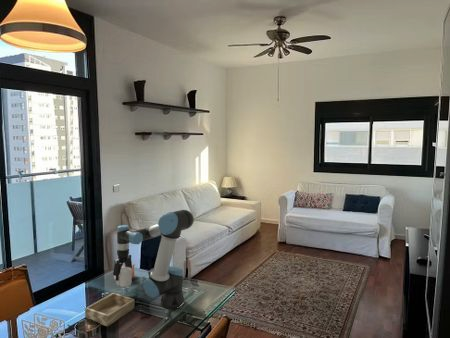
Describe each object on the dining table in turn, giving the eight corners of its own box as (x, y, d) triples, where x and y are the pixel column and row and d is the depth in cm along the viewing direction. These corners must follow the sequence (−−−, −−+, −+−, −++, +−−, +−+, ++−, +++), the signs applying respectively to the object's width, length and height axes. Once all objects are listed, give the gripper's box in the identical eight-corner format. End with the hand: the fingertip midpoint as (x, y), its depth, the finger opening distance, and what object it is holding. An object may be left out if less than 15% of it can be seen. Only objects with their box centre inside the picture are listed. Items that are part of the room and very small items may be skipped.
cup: (127, 287, 209) (128, 272, 208) (110, 285, 211) (110, 270, 210) (133, 282, 217) (133, 267, 216) (117, 280, 219) (117, 265, 218)
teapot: (132, 283, 232) (133, 269, 231) (115, 283, 230) (116, 269, 229) (135, 275, 246) (135, 262, 245) (119, 275, 244) (119, 262, 243)
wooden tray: (134, 308, 197) (134, 299, 197) (107, 326, 177) (108, 316, 177) (112, 301, 204) (113, 292, 204) (85, 318, 184) (85, 308, 184)
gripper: (129, 243, 224) (129, 275, 225) (106, 252, 205) (106, 287, 206) (138, 245, 221) (137, 277, 222) (116, 254, 202) (115, 289, 203)
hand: (122, 282), depth 214 cm, fingers closed on cup, 8 cm apart
